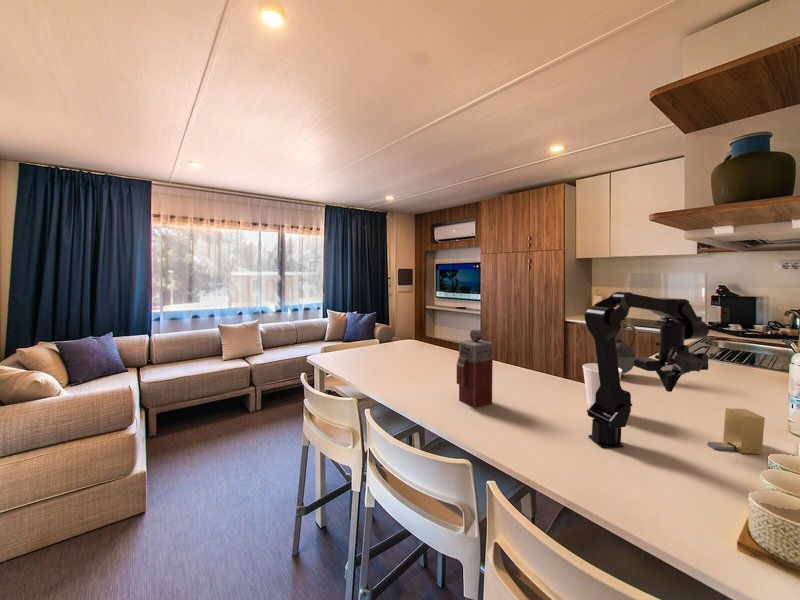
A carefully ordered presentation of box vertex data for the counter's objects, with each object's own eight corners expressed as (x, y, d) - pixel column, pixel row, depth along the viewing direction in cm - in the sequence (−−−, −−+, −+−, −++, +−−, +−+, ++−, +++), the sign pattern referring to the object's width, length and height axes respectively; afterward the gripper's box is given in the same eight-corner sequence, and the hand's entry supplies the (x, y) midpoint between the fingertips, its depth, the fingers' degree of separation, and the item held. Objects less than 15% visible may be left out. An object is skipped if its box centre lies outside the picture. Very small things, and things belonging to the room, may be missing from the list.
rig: (714, 449, 91) (715, 428, 90) (690, 434, 100) (691, 414, 99) (769, 452, 89) (770, 430, 89) (740, 436, 98) (741, 416, 98)
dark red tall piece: (453, 401, 127) (454, 329, 125) (476, 396, 133) (476, 326, 130) (469, 409, 119) (469, 332, 117) (492, 403, 125) (493, 330, 123)
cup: (584, 416, 113) (585, 370, 111) (578, 404, 124) (579, 361, 122) (625, 421, 108) (627, 374, 107) (615, 408, 120) (617, 364, 118)
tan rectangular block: (740, 452, 89) (743, 416, 88) (723, 442, 94) (725, 408, 94) (761, 454, 88) (764, 417, 87) (742, 443, 94) (745, 409, 93)
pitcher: (591, 374, 160) (593, 312, 158) (624, 371, 164) (626, 311, 162) (609, 381, 150) (612, 315, 147) (644, 377, 154) (647, 313, 151)
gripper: (664, 346, 90) (661, 402, 91) (729, 345, 91) (725, 400, 92) (633, 338, 101) (631, 388, 102) (691, 337, 102) (689, 387, 103)
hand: (668, 391), depth 100 cm, fingers closed
